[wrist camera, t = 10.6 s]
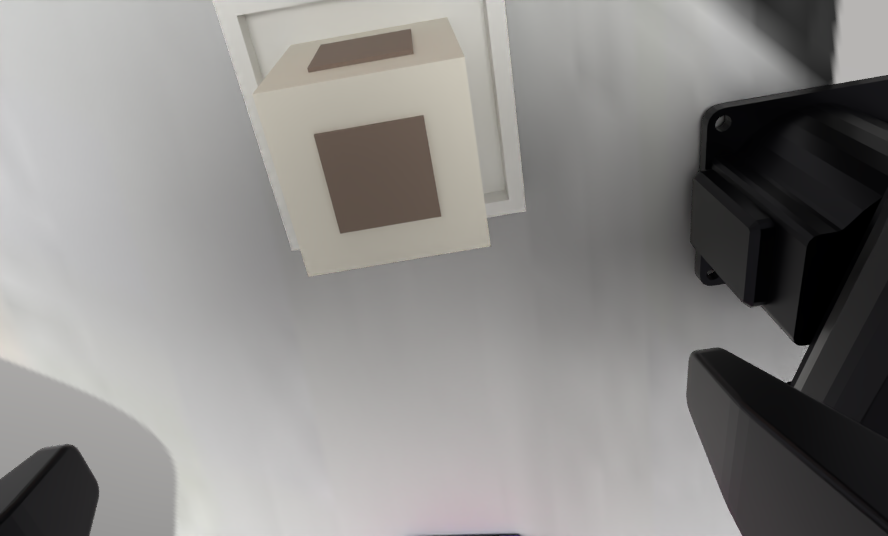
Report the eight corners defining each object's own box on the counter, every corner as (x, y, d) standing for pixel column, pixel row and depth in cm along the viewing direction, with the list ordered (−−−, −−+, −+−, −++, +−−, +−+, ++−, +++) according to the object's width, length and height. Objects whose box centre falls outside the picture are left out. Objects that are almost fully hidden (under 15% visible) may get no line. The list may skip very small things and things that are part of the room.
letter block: (446, 13, 18) (464, 52, 13) (468, 165, 20) (491, 248, 15) (289, 41, 18) (249, 90, 13) (329, 189, 20) (307, 279, 15)
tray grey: (493, -56, 17) (499, -53, 16) (520, 196, 21) (526, 211, 20) (222, -7, 18) (211, -1, 17) (297, 234, 21) (291, 251, 20)
